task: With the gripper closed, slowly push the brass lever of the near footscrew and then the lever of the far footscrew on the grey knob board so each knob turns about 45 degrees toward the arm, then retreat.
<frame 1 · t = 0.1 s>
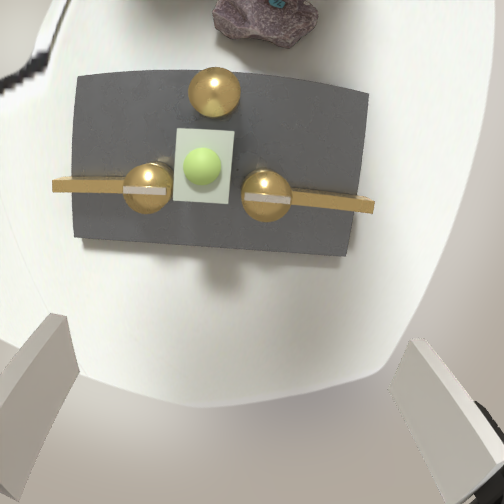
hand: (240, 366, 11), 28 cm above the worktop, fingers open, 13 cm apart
knob B: (310, 199, 32), point 5 cm above the worktop, hinge at 0.0°
knob A: (108, 185, 31), point 5 cm above the worktop, hinge at 0.0°
rock: (261, 19, 30), on the worktop
grey knob board: (212, 158, 35), on the worktop
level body: (210, 159, 33), resting on grey knob board
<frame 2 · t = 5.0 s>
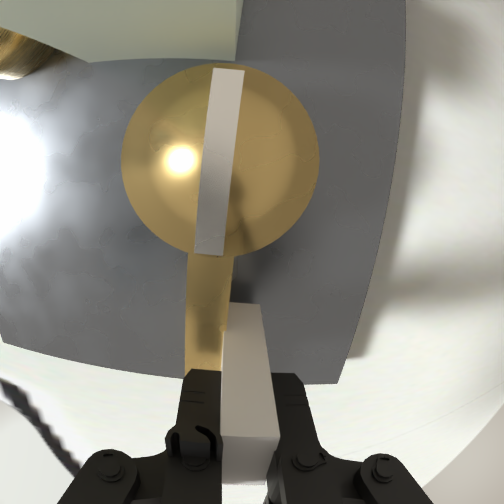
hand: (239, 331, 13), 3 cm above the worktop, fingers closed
knob A: (208, 300, 11), point 5 cm above the worktop, hinge at -0.7°, touching gripper
grey knob board: (174, 24, 11), on the worktop
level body: (166, 8, 9), resting on grey knob board
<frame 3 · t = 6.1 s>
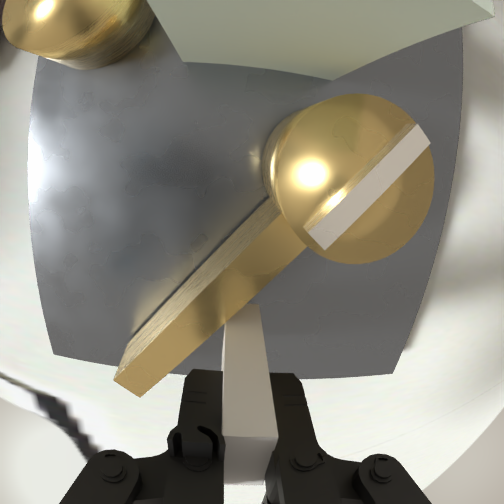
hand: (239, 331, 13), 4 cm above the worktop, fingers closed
knob A: (243, 272, 11), point 5 cm above the worktop, hinge at -38.3°, touching gripper
grey knob board: (260, 33, 12), on the worktop
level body: (265, 18, 10), resting on grey knob board
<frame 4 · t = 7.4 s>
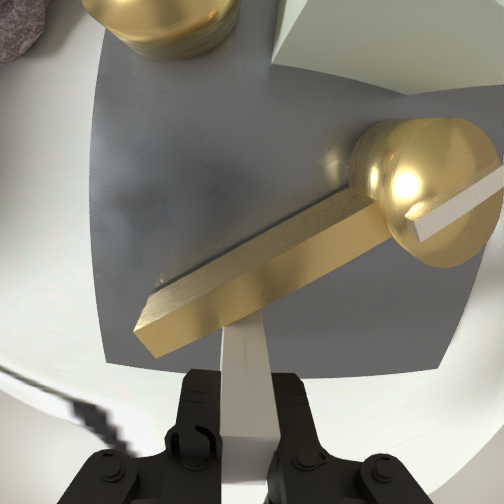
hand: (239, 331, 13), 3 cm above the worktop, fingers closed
knob A: (320, 247, 10), point 5 cm above the worktop, hinge at -54.6°, touching gripper
grey knob board: (334, 41, 12), on the worktop
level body: (348, 29, 10), resting on grey knob board
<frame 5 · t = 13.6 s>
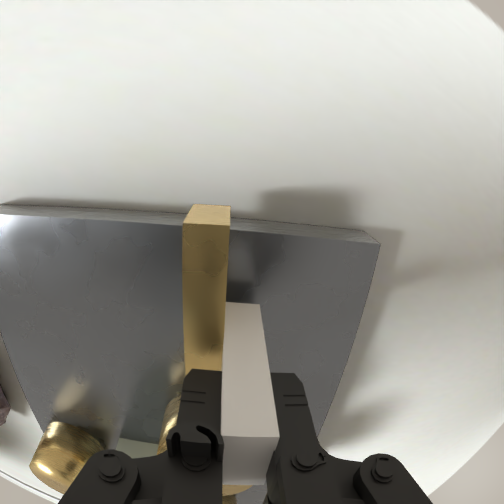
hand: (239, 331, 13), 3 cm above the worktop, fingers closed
knob B: (205, 392, 12), point 5 cm above the worktop, hinge at 1.7°, touching gripper
grey knob board: (168, 440, 20), on the worktop
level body: (165, 461, 18), resting on grey knob board
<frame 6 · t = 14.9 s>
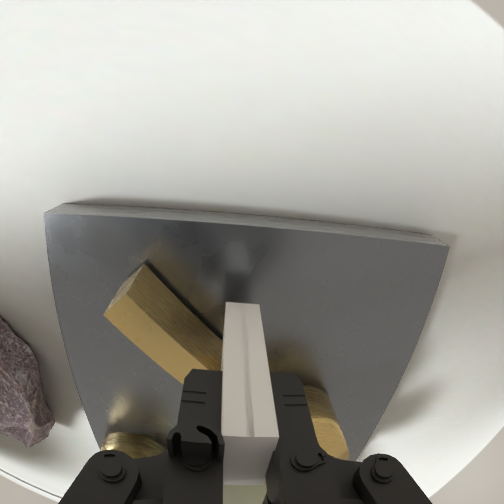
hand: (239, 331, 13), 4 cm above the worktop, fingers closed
knob B: (241, 404, 13), point 5 cm above the worktop, hinge at 44.2°, touching gripper
rock: (15, 372, 18), on the worktop
grey knob board: (231, 440, 21), on the worktop
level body: (232, 460, 19), resting on grey knob board
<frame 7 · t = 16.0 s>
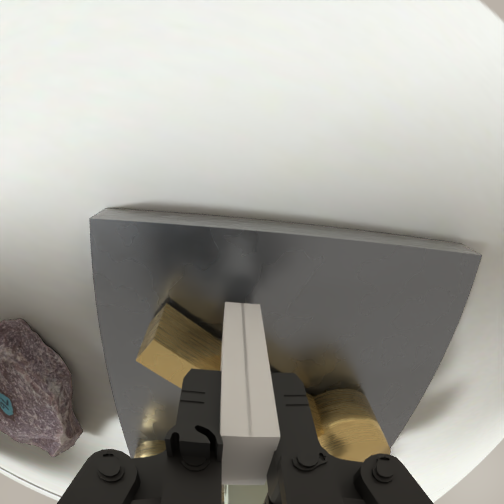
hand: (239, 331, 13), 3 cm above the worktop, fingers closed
knob B: (280, 419, 13), point 5 cm above the worktop, hinge at 54.8°, touching gripper
rock: (41, 380, 18), on the worktop
grey knob board: (264, 443, 21), on the worktop
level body: (267, 464, 19), resting on grey knob board
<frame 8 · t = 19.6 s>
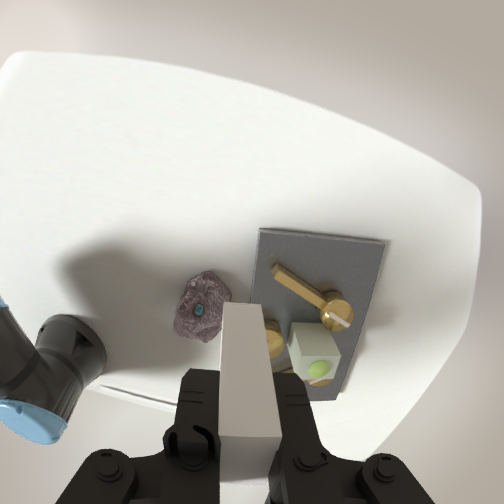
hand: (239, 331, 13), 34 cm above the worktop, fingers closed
knob B: (313, 297, 47), point 5 cm above the worktop, hinge at 59.9°
knob A: (293, 379, 52), point 5 cm above the worktop, hinge at -60.1°
rock: (204, 303, 52), on the worktop
grey knob board: (304, 327, 54), on the worktop
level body: (306, 334, 52), resting on grey knob board
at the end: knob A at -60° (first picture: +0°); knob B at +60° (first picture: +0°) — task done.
